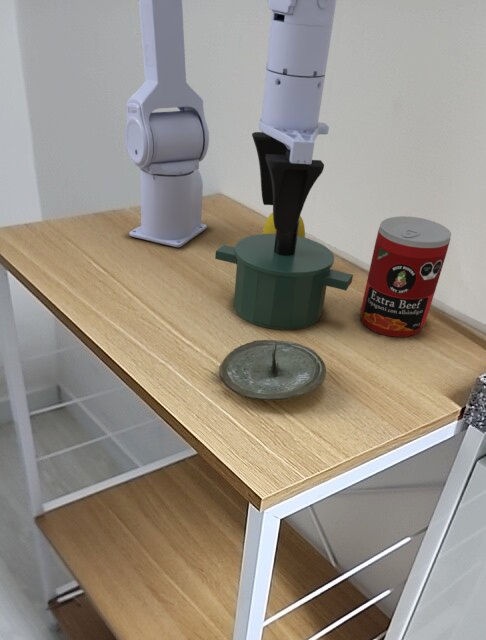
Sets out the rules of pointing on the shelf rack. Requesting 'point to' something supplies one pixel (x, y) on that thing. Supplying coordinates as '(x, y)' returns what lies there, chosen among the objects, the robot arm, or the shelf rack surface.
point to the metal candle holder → (272, 370)
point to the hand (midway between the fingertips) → (277, 216)
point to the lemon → (271, 229)
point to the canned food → (403, 275)
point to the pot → (280, 294)
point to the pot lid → (284, 254)
